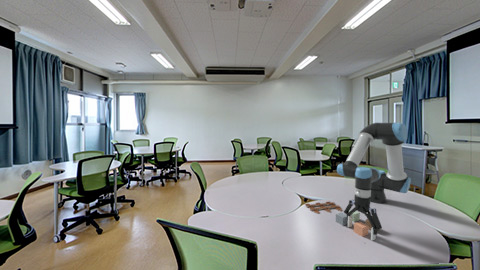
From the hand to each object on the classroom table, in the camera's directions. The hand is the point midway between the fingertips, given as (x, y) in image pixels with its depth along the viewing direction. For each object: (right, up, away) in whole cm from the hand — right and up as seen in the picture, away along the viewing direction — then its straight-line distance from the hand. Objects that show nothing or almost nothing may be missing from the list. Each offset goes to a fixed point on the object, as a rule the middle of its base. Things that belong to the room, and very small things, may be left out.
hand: (360, 232), depth 109 cm
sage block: (+4, +1, +15) cm, 16 cm away
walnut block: (+9, 0, +4) cm, 10 cm away
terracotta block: (0, 0, 0) cm, 0 cm away
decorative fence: (-7, +1, +32) cm, 33 cm away
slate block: (-5, +1, +11) cm, 12 cm away
